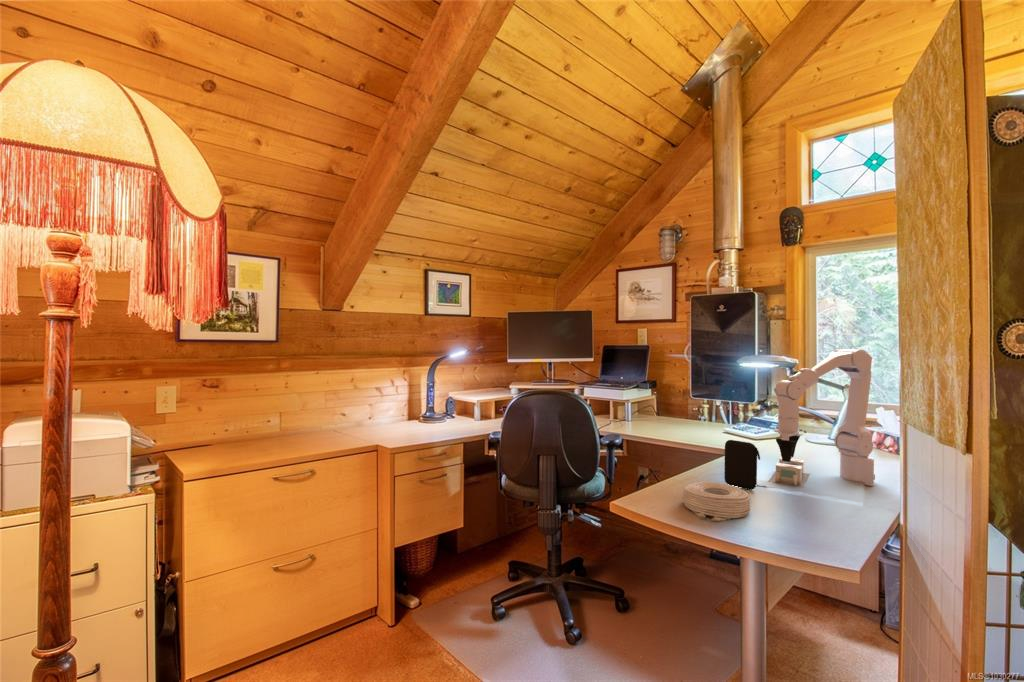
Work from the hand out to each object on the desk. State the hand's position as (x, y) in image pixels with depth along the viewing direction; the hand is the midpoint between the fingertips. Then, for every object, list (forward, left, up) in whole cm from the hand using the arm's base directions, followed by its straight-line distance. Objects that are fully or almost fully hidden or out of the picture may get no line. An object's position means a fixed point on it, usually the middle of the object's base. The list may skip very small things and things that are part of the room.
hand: (787, 458), depth 157 cm
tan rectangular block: (0, -10, -7) cm, 12 cm away
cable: (+13, +39, -9) cm, 42 cm away
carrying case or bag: (+11, +14, -8) cm, 20 cm away
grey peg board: (0, -5, -8) cm, 10 cm away
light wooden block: (0, 0, -7) cm, 7 cm away
